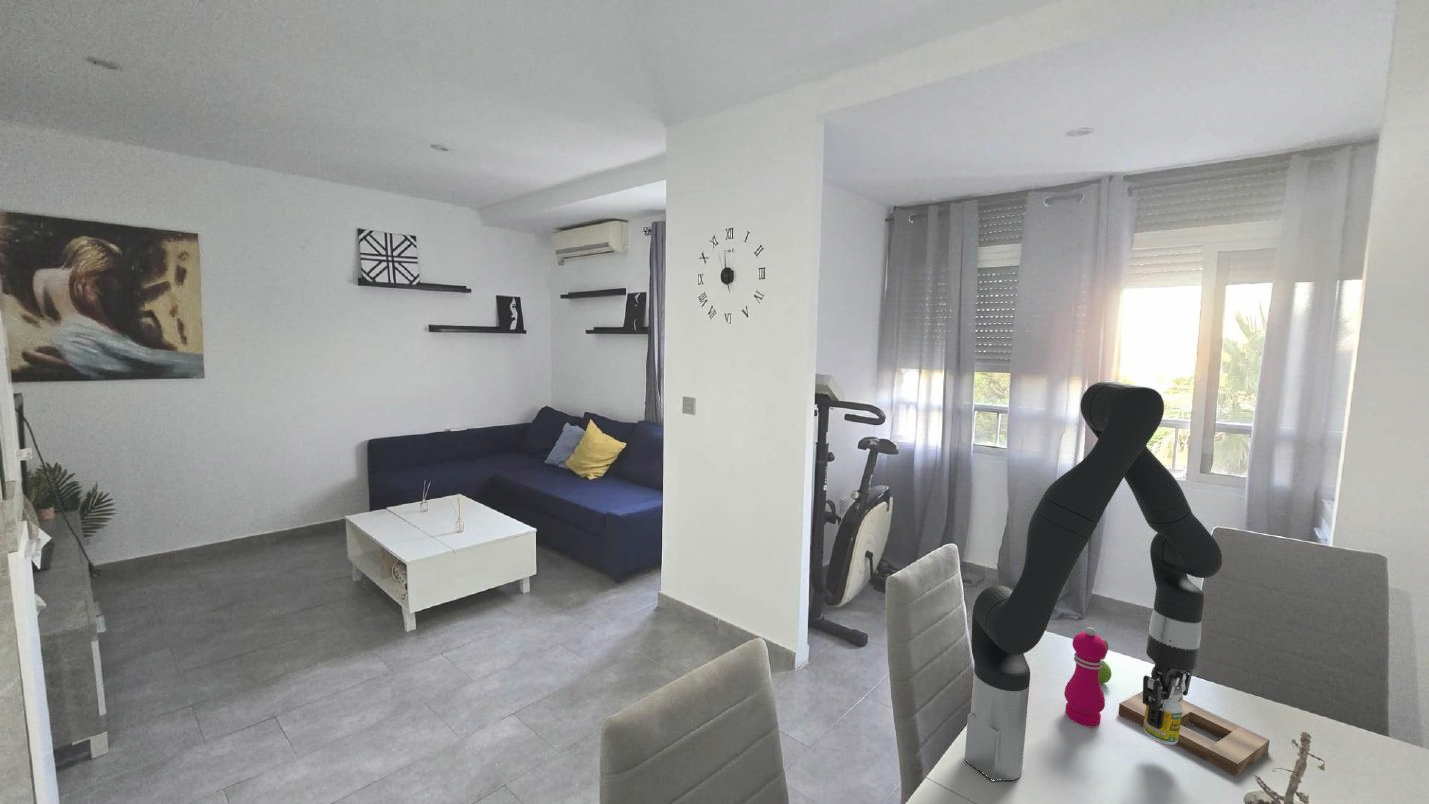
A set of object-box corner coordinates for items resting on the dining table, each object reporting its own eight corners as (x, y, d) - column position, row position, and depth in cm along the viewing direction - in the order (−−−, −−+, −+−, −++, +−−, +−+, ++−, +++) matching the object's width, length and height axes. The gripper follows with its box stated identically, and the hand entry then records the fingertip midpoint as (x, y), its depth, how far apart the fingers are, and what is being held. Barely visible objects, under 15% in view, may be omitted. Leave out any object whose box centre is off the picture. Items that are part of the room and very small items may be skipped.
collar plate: (1236, 776, 107) (1238, 764, 107) (1118, 714, 125) (1119, 703, 124) (1268, 751, 114) (1269, 739, 114) (1151, 696, 131) (1153, 685, 131)
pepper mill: (1091, 708, 127) (1100, 620, 124) (1110, 730, 119) (1119, 637, 117) (1056, 705, 127) (1064, 618, 125) (1073, 727, 120) (1081, 635, 118)
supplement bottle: (1149, 723, 115) (1155, 677, 114) (1182, 739, 111) (1189, 692, 110) (1137, 732, 112) (1144, 685, 111) (1171, 749, 108) (1178, 700, 107)
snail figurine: (1074, 679, 137) (1079, 630, 136) (1092, 673, 140) (1096, 625, 139) (1098, 692, 133) (1103, 641, 131) (1115, 685, 135) (1120, 636, 134)
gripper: (1178, 656, 102) (1166, 745, 104) (1215, 638, 109) (1203, 722, 111) (1131, 636, 109) (1120, 720, 111) (1169, 620, 116) (1158, 700, 118)
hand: (1162, 721), depth 111 cm, fingers closed on supplement bottle, 5 cm apart
